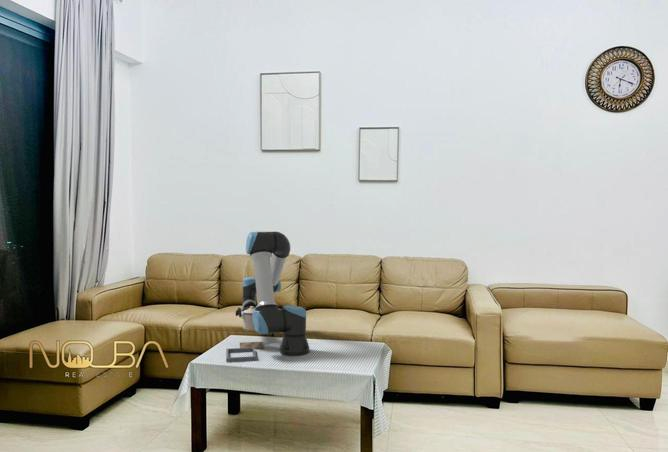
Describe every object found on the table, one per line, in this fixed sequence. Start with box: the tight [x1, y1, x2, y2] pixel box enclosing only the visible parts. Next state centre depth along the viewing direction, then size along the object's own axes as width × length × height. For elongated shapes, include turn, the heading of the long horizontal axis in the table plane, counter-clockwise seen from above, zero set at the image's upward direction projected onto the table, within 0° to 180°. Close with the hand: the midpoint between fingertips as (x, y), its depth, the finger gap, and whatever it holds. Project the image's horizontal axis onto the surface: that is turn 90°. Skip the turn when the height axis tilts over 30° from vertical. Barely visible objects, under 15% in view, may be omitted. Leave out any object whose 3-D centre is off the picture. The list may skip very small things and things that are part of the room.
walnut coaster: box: [239, 341, 264, 350], centre depth 265 cm, size 12×12×1 cm
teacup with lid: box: [242, 306, 255, 331], centre depth 265 cm, size 12×9×12 cm
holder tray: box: [225, 347, 257, 363], centre depth 247 cm, size 14×17×2 cm
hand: (251, 315), depth 261 cm, fingers closed on teacup with lid, 9 cm apart
